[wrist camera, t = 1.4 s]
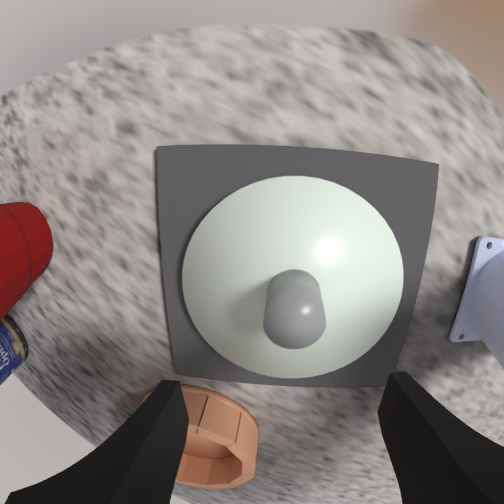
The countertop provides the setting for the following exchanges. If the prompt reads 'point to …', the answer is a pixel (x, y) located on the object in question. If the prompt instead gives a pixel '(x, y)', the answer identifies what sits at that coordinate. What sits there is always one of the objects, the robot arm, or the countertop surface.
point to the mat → (279, 164)
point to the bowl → (217, 441)
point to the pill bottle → (11, 348)
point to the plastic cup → (21, 250)
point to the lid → (292, 276)
